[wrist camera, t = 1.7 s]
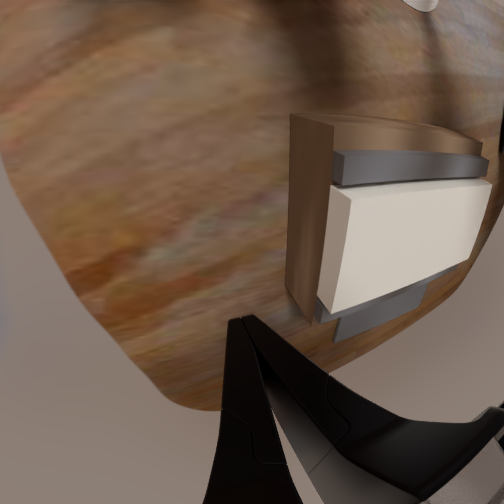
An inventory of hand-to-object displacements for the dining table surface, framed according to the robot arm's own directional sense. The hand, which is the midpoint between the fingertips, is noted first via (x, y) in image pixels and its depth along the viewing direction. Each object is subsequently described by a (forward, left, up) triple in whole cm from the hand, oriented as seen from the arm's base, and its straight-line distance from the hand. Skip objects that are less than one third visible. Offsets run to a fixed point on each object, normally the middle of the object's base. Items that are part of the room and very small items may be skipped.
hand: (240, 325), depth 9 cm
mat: (-16, +11, -7) cm, 21 cm away
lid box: (-11, 0, -7) cm, 13 cm away
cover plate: (-11, 0, -3) cm, 12 cm away
